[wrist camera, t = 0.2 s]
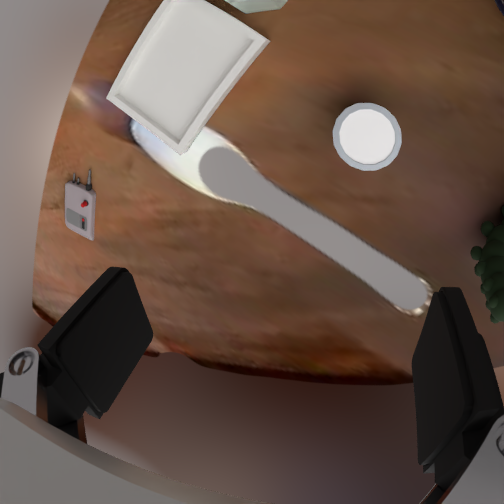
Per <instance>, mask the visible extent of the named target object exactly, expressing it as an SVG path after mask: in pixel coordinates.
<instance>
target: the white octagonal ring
mask: <svg viewBox="0 0 504 504" xmlns="http://www.w3.org/2000/svg"><path fill="white" fill-rule="evenodd" d="M224 1H226V2H227V3H229V4H231V5H233V6H234V7H236V8H237V9H239V10H241V11H242V12H244V13H245V14H248V13H254V12H261V11H268V10H276V9H281V7H282V6H283V5H284V4H285V3H286V2H287V1H288V0H224Z"/></svg>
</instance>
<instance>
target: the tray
mask: <svg viewBox="0 0 504 504" xmlns="http://www.w3.org/2000/svg"><path fill="white" fill-rule="evenodd" d="M269 42H270V41H269V40H268V39H267V38H265V37H264V36H262V35H261V34H259V33H258V32H256V31H255V30H253V29H252V28H250V27H249V26H247V25H246V24H244V23H242V22H241V21H239V20H238V19H236V18H234V17H233V16H231V15H229V14H228V13H226V12H224V11H223V10H221V9H219V8H218V7H216V6H214V5H212V4H211V3H209V2H207V1H205V0H164V1H163V2H162V4H161V5H160V6H159V8H158V9H157V11H156V12H155V14H154V15H153V17H152V18H151V20H150V21H149V23H148V24H147V26H146V28H145V29H144V31H143V32H142V34H141V36H140V37H139V39H138V41H137V42H136V44H135V46H134V47H133V49H132V51H131V52H130V54H129V56H128V58H127V59H126V61H125V63H124V65H123V67H122V68H121V70H120V72H119V74H118V76H117V78H116V80H115V82H114V84H113V86H112V88H111V90H110V92H109V94H108V96H107V99H108V100H109V101H111V102H112V103H113V104H115V105H116V106H117V107H119V108H120V109H121V110H123V111H124V112H125V113H126V114H128V115H129V116H130V117H132V118H133V119H134V120H136V121H137V122H138V123H139V124H141V125H142V126H143V127H145V128H146V129H147V130H149V131H150V132H151V133H152V134H154V135H155V136H156V137H158V138H159V139H160V140H161V141H163V142H164V143H165V144H167V145H168V146H169V147H170V148H172V149H173V150H174V151H175V152H177V153H178V154H179V155H182V154H183V153H185V152H187V151H188V149H189V148H190V146H191V145H192V143H193V142H194V140H195V139H196V137H197V136H198V134H199V133H200V132H201V130H202V129H203V127H204V126H205V124H206V123H207V122H208V120H209V119H210V117H211V116H212V115H213V113H214V112H215V111H216V109H217V108H218V107H219V105H220V104H221V102H222V101H223V100H224V98H225V97H226V96H227V94H228V93H229V92H230V91H231V89H232V88H233V87H234V85H235V84H236V83H237V81H238V80H239V79H240V78H241V76H242V75H243V74H244V73H245V71H246V70H247V69H248V68H249V66H250V65H251V64H252V63H253V61H254V60H255V59H256V58H257V57H258V55H259V54H260V53H261V52H262V51H263V49H264V48H265V47H266V46H267V45H268V43H269Z"/></svg>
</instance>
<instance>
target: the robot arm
mask: <svg viewBox="0 0 504 504" xmlns="http://www.w3.org/2000/svg"><path fill="white" fill-rule="evenodd" d="M152 338H153V330H152V328H151V325H150V323H149V320H148V317H147V315H146V312H145V310H144V307H143V304H142V302H141V299H140V296H139V293H138V290H137V288H136V285H135V282H134V279H133V276H132V274H131V273H129V271H128V270H127V269H126V268H120V267H110V268H108V269H107V270H106V271H105V272H104V273H103V274H102V275H101V276H100V277H99V278H98V279H97V280H96V281H95V282H94V283H93V284H92V285H91V286H90V288H89V289H88V290H87V291H86V292H85V293H84V294H83V295H82V296H81V297H80V298H79V299H78V300H77V301H76V302H75V303H74V305H73V306H72V307H71V308H70V309H69V310H68V311H67V312H66V313H65V314H64V315H63V317H62V318H61V319H60V320H59V321H58V322H57V323H56V324H55V325H54V327H53V328H52V329H51V330H50V331H49V333H48V334H47V335H46V336H45V337H44V338H43V339H42V340H41V341H40V343H39V344H38V347H39V348H40V350H41V351H42V354H41V355H39V353H38V352H37V350H36V349H34V348H30V347H27V348H23V349H20V350H18V351H17V352H16V353H14V354H13V355H12V356H11V357H10V358H9V360H8V361H7V364H6V367H5V372H3V373H1V374H0V504H273V503H266V502H261V501H255V500H250V499H245V498H240V497H236V496H231V495H227V494H223V493H219V492H215V491H211V490H207V489H203V488H200V487H196V486H193V485H189V484H186V483H182V482H180V481H176V480H173V479H170V478H167V477H164V476H162V475H159V474H156V473H153V472H150V471H148V470H145V469H142V468H140V467H137V466H135V465H132V464H130V463H127V462H125V461H123V460H120V459H118V458H115V457H113V456H111V455H109V454H107V453H104V452H102V451H100V450H98V449H96V448H94V447H92V446H90V445H88V444H87V440H86V433H85V426H84V419H83V413H84V411H86V412H87V413H88V414H89V415H92V416H94V417H96V418H98V419H100V418H101V416H102V415H103V413H105V412H107V411H108V410H109V408H110V406H111V405H112V403H113V402H114V400H115V398H116V397H117V395H118V393H119V392H120V390H121V389H122V387H123V385H124V383H125V382H126V380H127V379H128V377H129V376H130V374H131V373H132V371H133V369H134V368H135V366H136V365H137V363H138V361H139V360H140V358H141V356H142V355H143V353H144V352H145V350H146V349H147V347H148V346H149V344H150V343H151V341H152ZM412 374H413V383H414V392H415V405H416V419H417V420H416V421H417V443H418V463H419V465H423V473H434V472H435V483H436V484H435V486H434V487H433V488H432V489H431V491H430V492H429V493H428V494H427V496H426V497H425V498H424V499H423V500H422V501H421V503H420V504H504V407H503V402H502V399H501V394H500V391H499V387H498V383H497V380H496V376H495V373H494V369H493V366H492V363H491V359H490V356H489V353H488V350H487V347H486V344H485V341H484V339H483V337H482V335H481V334H479V333H478V332H477V329H476V326H475V323H474V321H473V318H472V315H471V313H470V310H469V308H468V305H467V303H466V300H465V298H464V295H463V293H462V290H461V289H460V288H459V287H441V288H440V290H439V292H434V294H433V296H432V300H431V303H430V307H429V310H428V313H427V317H426V320H425V323H424V326H423V329H422V332H421V335H420V338H419V341H418V344H417V346H416V349H415V352H414V355H413V358H412Z"/></svg>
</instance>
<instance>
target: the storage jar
mask: <svg viewBox="0 0 504 504" xmlns="http://www.w3.org/2000/svg"><path fill="white" fill-rule="evenodd" d="M495 2H496V4H497V6H498V8H499V10H500V11H501V13H502V14H503V16H504V0H495Z"/></svg>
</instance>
